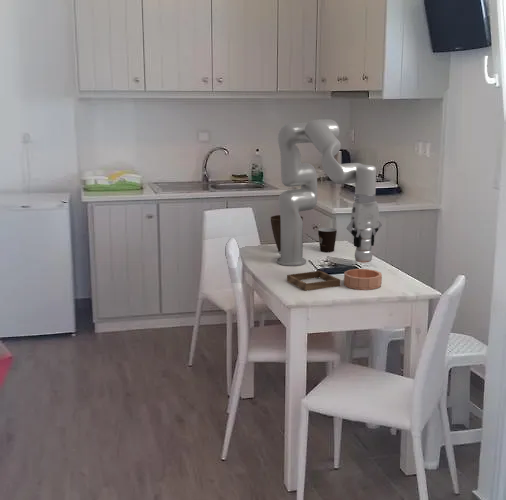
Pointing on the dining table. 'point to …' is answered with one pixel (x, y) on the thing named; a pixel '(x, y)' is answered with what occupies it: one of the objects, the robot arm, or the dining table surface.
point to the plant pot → (277, 230)
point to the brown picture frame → (329, 282)
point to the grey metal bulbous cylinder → (365, 245)
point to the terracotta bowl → (362, 279)
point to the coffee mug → (327, 239)
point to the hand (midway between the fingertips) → (363, 245)
